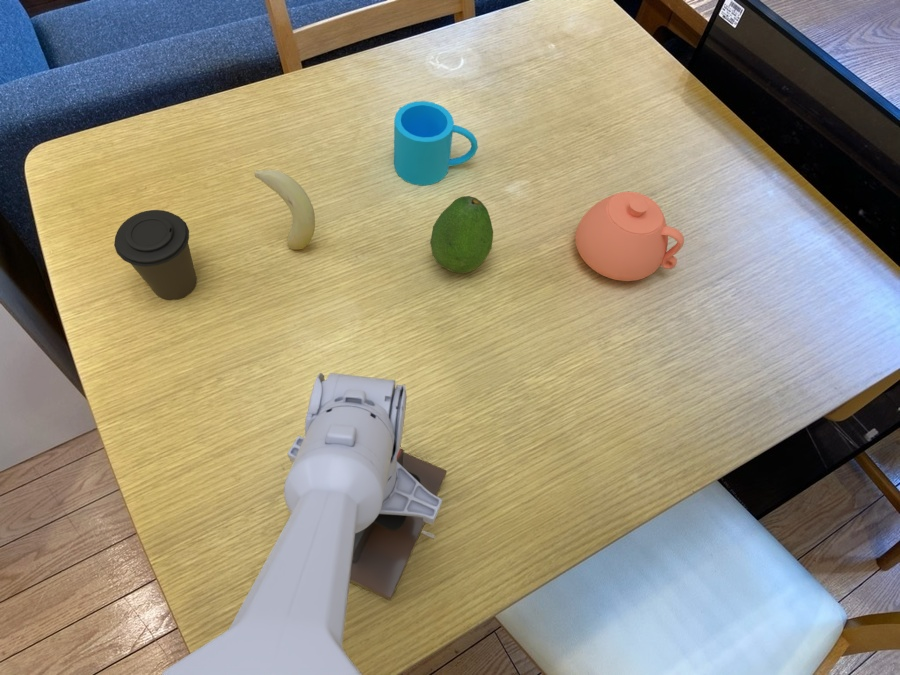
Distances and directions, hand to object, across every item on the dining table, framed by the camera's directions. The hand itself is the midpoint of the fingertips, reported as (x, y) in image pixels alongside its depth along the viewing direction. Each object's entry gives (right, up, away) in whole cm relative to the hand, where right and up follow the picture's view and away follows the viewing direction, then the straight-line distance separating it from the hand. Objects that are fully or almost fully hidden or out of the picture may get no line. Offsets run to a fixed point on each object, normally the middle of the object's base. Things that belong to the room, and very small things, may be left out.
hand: (367, 504), depth 64 cm
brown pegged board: (0, -1, +3) cm, 3 cm away
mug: (+6, +43, +29) cm, 52 cm away
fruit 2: (+10, +27, +21) cm, 35 cm away
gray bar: (0, 0, +1) cm, 1 cm away
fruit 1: (-12, +30, +20) cm, 38 cm away
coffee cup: (-26, +24, +15) cm, 39 cm away
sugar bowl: (+32, +28, +23) cm, 49 cm away
